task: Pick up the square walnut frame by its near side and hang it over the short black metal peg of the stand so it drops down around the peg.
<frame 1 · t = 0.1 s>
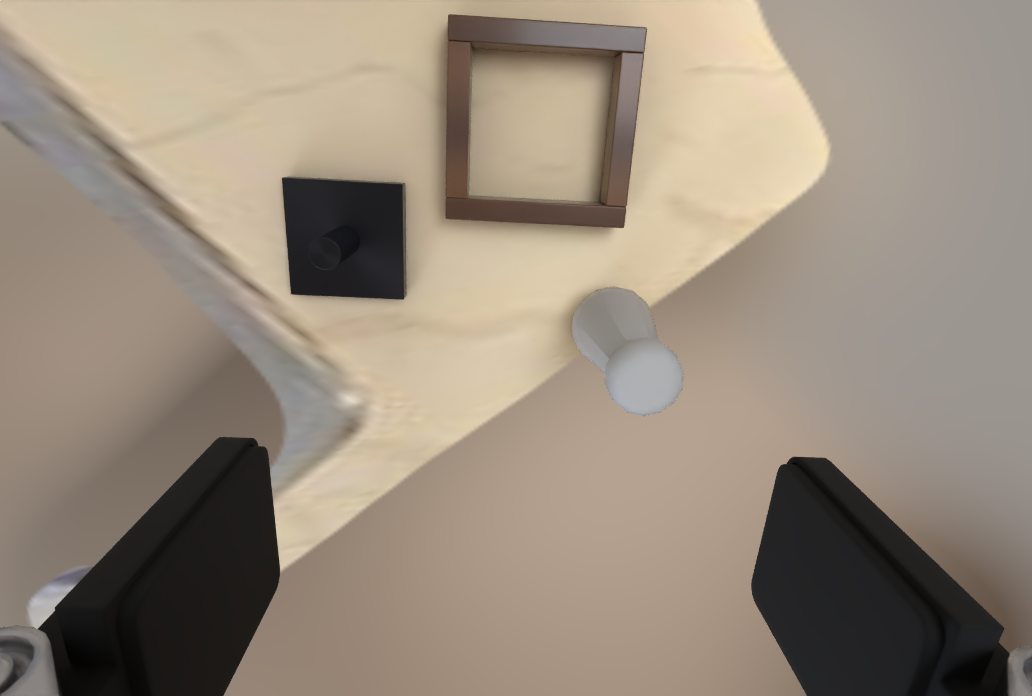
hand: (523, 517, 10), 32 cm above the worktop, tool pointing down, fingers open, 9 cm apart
peg stand: (349, 238, 41), on the worktop
walnut frame: (539, 128, 39), on the worktop
salt shaker: (606, 316, 43), on the worktop
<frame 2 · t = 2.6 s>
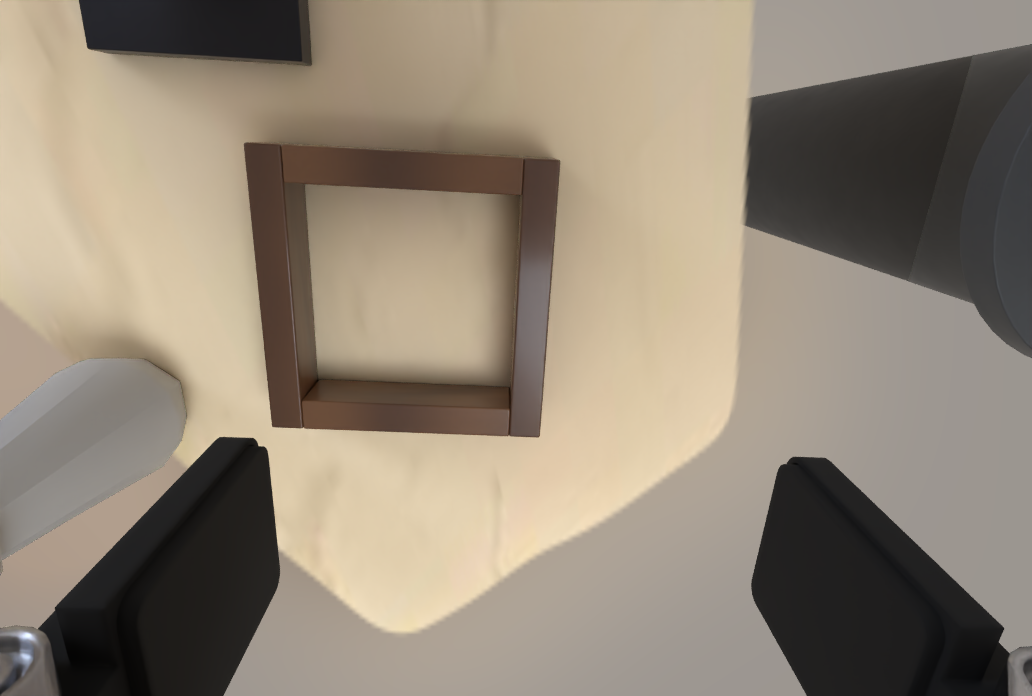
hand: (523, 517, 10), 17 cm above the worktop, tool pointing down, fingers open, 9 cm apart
walnut frame: (414, 289, 26), on the worktop
salt shaker: (146, 396, 28), on the worktop
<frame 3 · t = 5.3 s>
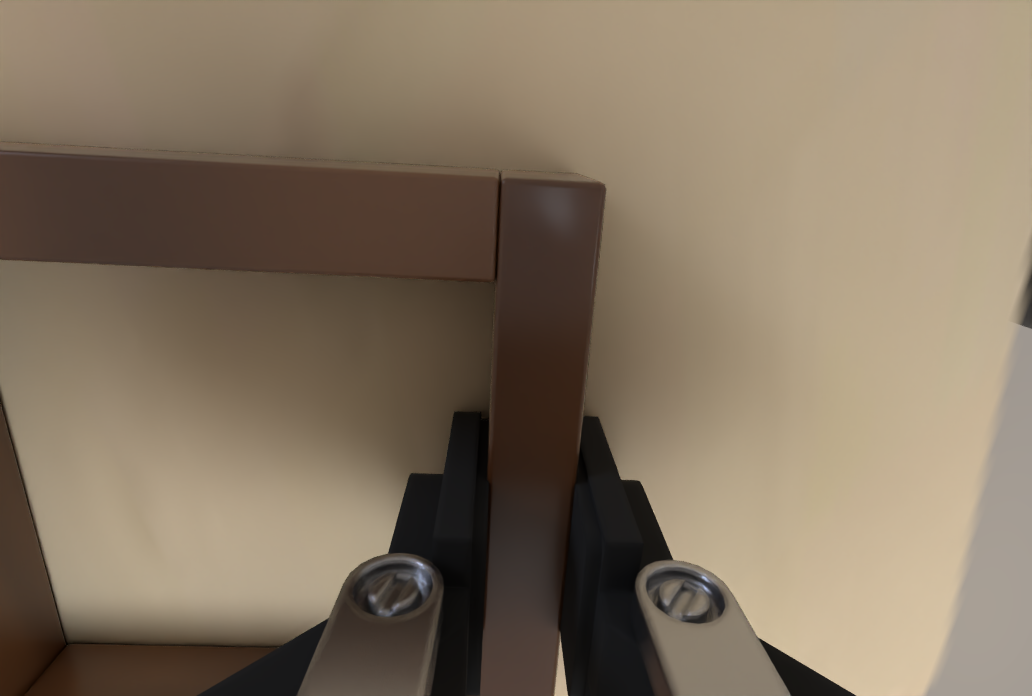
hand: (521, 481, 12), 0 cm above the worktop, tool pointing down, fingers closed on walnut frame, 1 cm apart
walnut frame: (257, 469, 11), on the worktop, touching gripper
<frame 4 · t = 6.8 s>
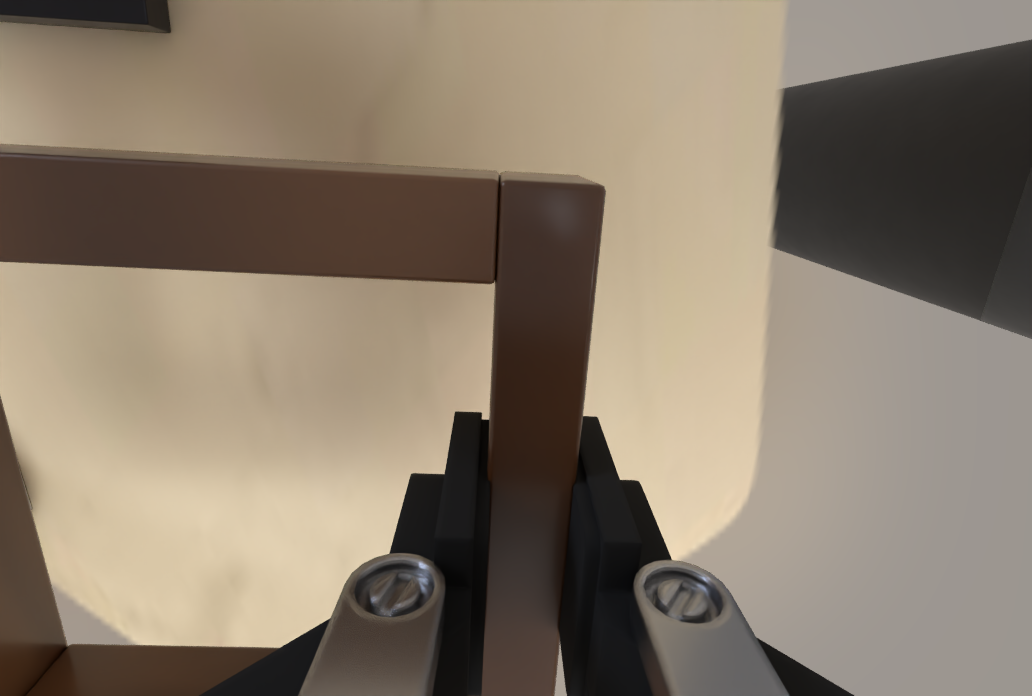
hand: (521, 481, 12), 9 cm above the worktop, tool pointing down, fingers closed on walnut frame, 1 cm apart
walnut frame: (257, 470, 12), point 8 cm above the worktop, touching gripper
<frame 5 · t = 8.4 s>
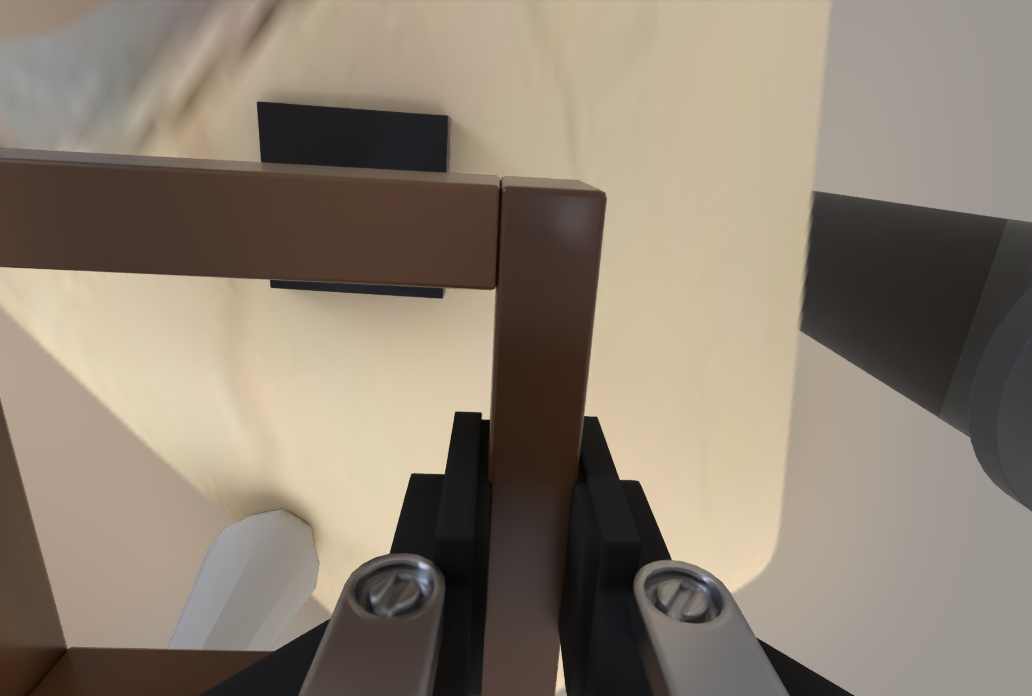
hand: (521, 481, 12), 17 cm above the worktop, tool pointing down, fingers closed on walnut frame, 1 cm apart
peg stand: (361, 203, 27), on the worktop
walnut frame: (258, 473, 12), point 17 cm above the worktop, touching gripper
salt shaker: (280, 536, 33), on the worktop
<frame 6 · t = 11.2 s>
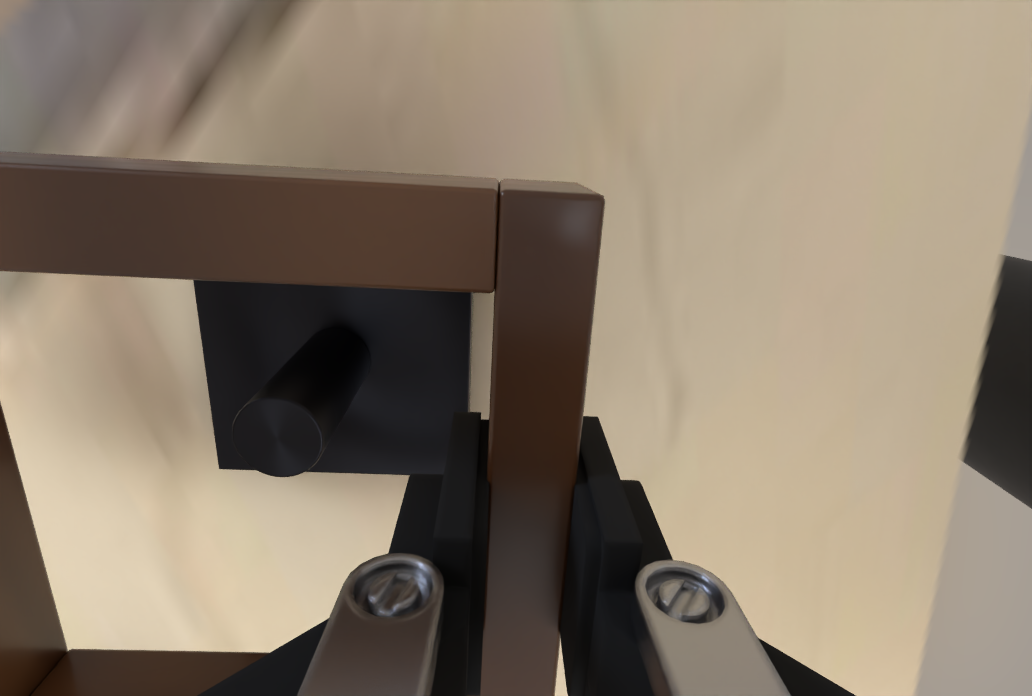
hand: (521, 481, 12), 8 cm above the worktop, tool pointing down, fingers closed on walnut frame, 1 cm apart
peg stand: (347, 345, 18), on the worktop
walnut frame: (257, 476, 12), point 7 cm above the worktop, touching gripper
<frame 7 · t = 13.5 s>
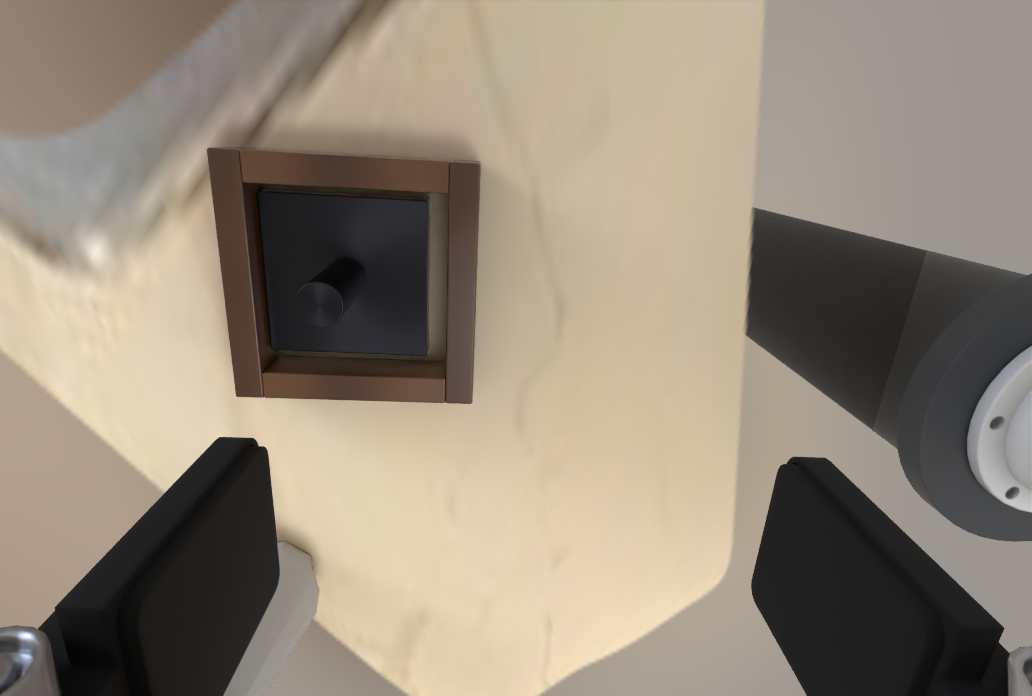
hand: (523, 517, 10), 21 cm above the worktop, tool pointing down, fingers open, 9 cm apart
peg stand: (351, 273, 30), on the worktop
walnut frame: (361, 275, 30), on the worktop
salt shaker: (282, 565, 36), on the worktop
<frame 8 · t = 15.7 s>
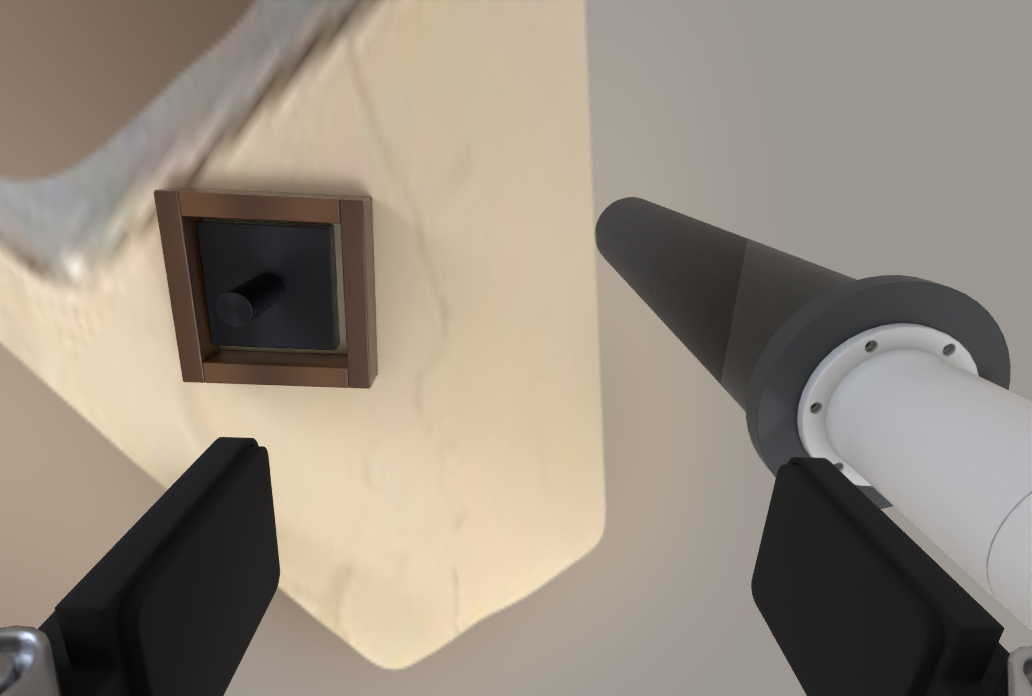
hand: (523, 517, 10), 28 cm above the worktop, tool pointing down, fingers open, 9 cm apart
peg stand: (275, 284, 37), on the worktop
walnut frame: (282, 286, 38), on the worktop
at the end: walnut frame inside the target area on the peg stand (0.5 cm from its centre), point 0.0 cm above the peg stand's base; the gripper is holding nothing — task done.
